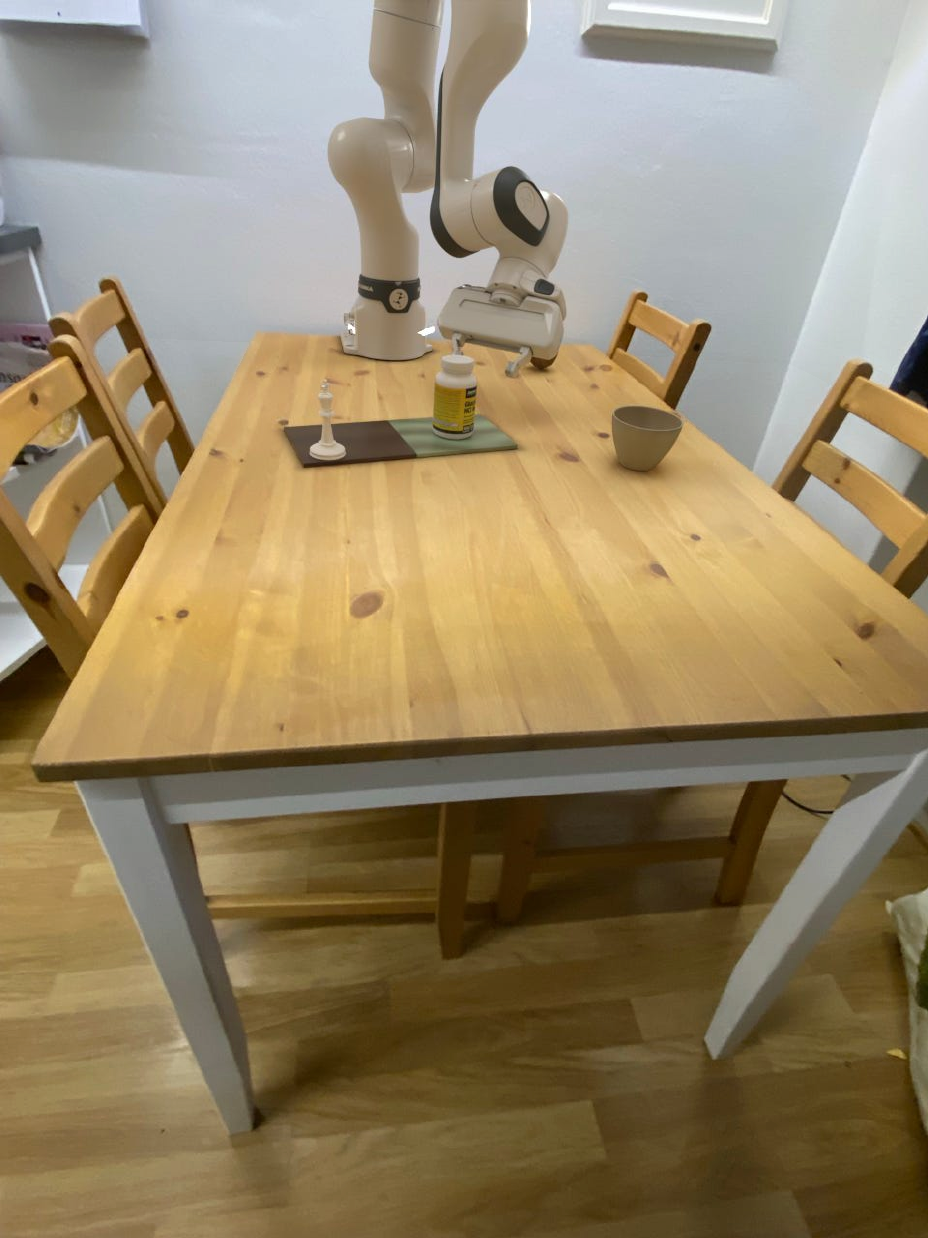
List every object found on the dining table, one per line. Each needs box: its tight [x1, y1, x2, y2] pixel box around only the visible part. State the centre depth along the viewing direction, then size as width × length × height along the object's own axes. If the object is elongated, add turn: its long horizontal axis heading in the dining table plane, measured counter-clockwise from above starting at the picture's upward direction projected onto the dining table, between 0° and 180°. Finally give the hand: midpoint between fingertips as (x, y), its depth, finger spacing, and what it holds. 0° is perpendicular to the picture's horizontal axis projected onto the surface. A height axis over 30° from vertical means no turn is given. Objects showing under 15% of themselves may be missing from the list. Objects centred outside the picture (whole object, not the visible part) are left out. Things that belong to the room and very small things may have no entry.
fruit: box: [529, 349, 560, 370], centre depth 139 cm, size 6×6×8 cm
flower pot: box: [611, 404, 684, 472], centre depth 100 cm, size 10×10×7 cm
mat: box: [283, 413, 519, 468], centre depth 104 cm, size 14×32×1 cm, turn 112°
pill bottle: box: [432, 354, 478, 440], centre depth 103 cm, size 6×6×11 cm
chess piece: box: [310, 379, 346, 460], centre depth 93 cm, size 5×5×10 cm
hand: (482, 369), depth 109 cm, fingers open, 8 cm apart
